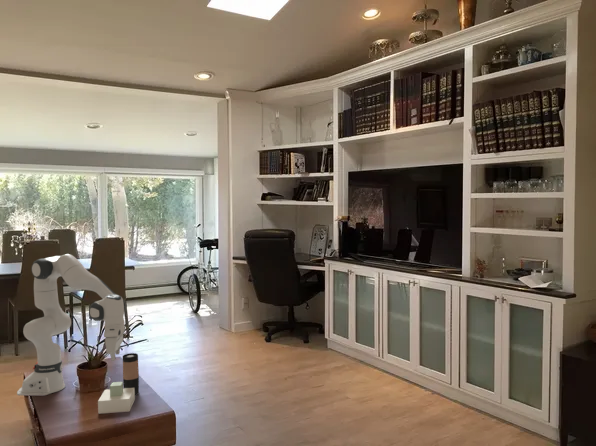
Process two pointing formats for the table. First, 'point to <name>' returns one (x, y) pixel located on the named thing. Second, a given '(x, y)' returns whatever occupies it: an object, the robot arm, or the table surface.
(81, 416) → the table surface
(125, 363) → the travel mug
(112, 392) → the sage cube
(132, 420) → the table surface
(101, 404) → the box
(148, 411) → the table surface
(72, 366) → the table surface
